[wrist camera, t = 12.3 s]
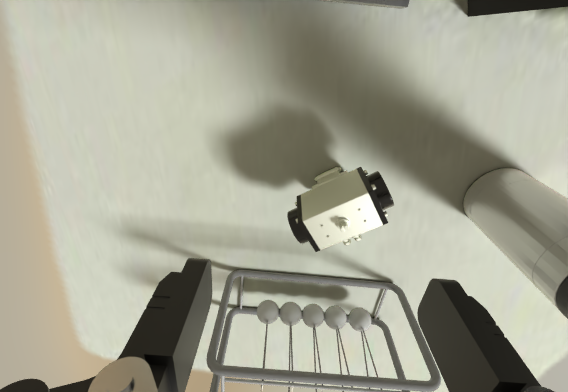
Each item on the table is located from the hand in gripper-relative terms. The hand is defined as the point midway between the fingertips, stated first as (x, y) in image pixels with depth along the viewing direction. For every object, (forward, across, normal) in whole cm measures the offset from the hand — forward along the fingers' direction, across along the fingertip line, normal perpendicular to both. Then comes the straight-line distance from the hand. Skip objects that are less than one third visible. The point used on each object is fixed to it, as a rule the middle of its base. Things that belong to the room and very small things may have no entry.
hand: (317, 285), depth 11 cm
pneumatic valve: (+30, -6, +10) cm, 32 cm away
